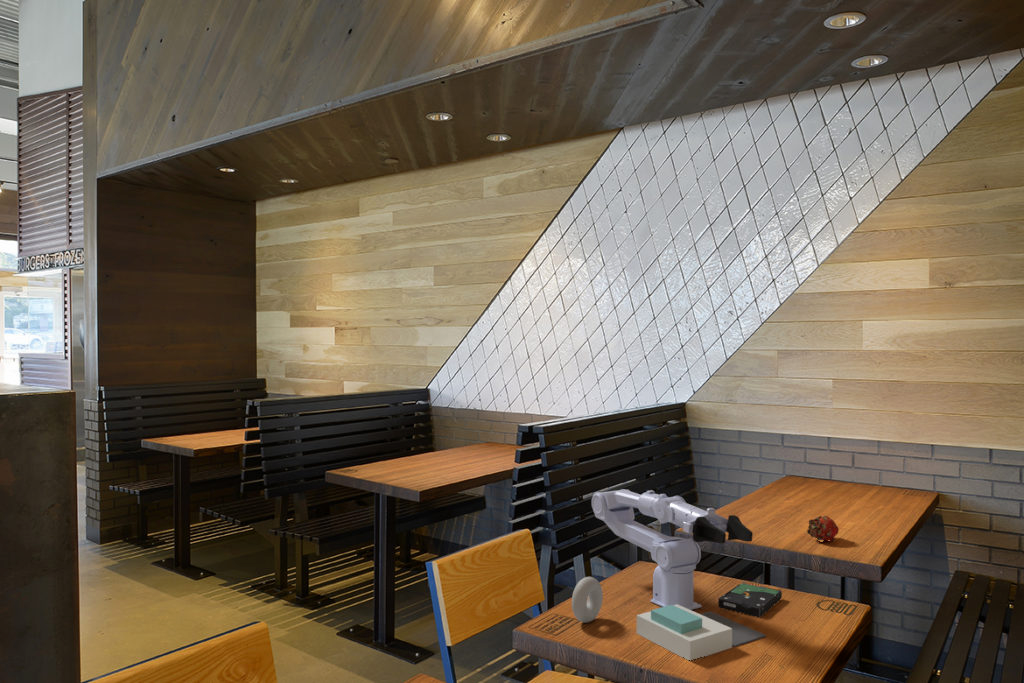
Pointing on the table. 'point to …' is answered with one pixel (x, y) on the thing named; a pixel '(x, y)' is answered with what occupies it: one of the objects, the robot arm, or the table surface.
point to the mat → (736, 629)
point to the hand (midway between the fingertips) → (737, 537)
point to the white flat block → (687, 636)
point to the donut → (580, 605)
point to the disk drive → (750, 599)
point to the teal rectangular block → (676, 619)
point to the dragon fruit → (823, 528)
